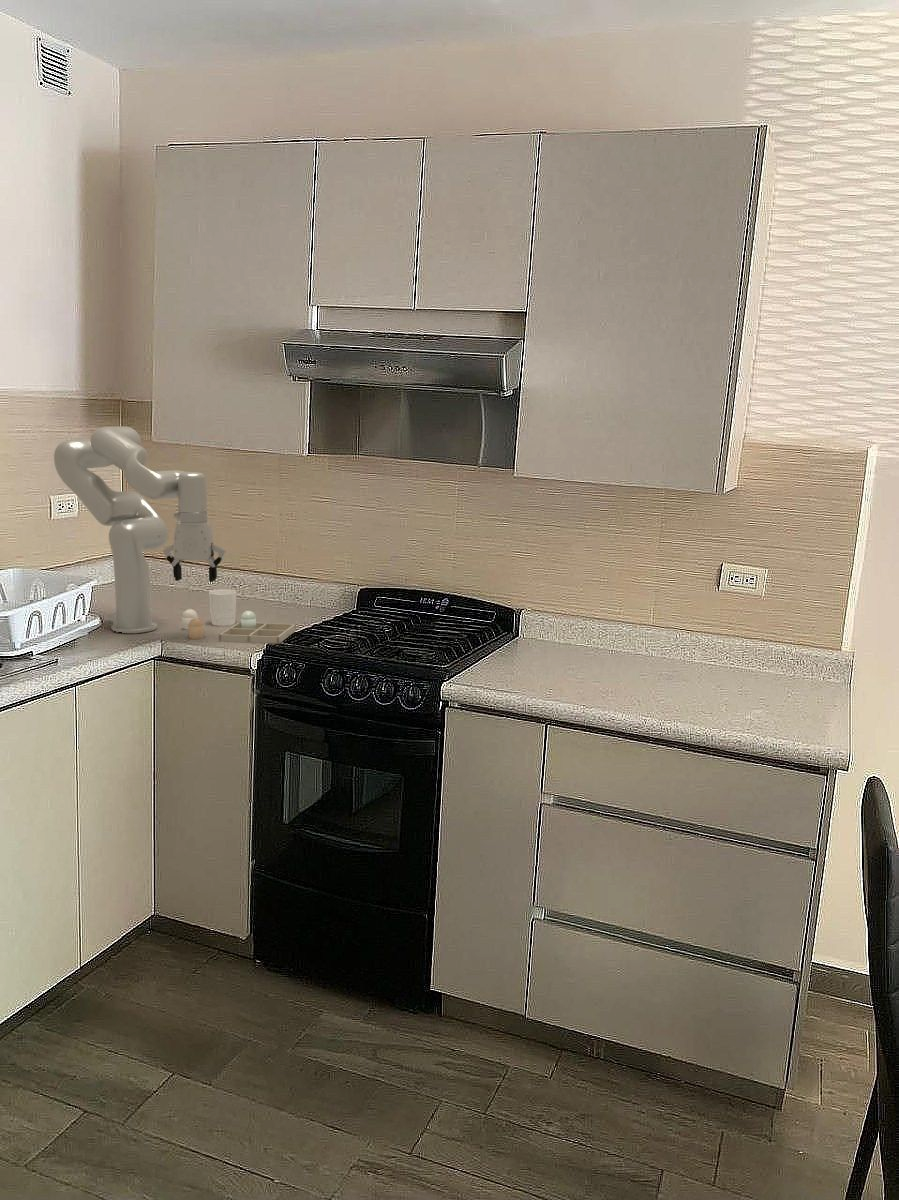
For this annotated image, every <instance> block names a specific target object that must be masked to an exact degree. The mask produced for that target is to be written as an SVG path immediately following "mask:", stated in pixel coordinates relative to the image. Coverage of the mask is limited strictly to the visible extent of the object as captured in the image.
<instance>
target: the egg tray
mask: <svg viewBox="0 0 899 1200" xmlns="http://www.w3.org/2000/svg"><path fill="white" fill-rule="evenodd" d="M296 631H297V624H296V623H272V622H256V629H243V628H241V621H238V622H237V623H236V622H235V624H233V625H231V626H230V627H229V628H226V629H224V631H222V632H221V633H219V634H218V642H228V643H249V644H271V645H272V644H274V645H280V644H281V643H282V642H283V641H284V640H286V639H287V638H288V637H290V636H291V635H292V634H294V633H295V632H296Z"/></svg>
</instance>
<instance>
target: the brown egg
mask: <svg viewBox="0 0 899 1200" xmlns="http://www.w3.org/2000/svg"><path fill="white" fill-rule="evenodd" d="M188 628H189V630H188V639H191V640H201V639H204V638H205V622H204V621H203V620H202V619H201V618H200V617H198V618H193V619H191V620H190V622H189V625H188Z"/></svg>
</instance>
